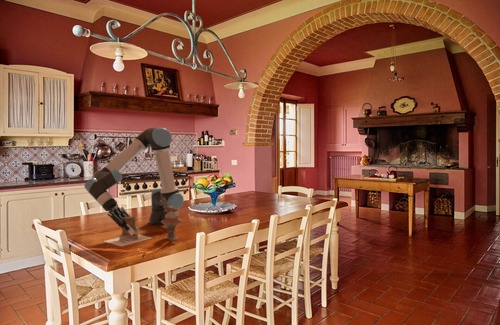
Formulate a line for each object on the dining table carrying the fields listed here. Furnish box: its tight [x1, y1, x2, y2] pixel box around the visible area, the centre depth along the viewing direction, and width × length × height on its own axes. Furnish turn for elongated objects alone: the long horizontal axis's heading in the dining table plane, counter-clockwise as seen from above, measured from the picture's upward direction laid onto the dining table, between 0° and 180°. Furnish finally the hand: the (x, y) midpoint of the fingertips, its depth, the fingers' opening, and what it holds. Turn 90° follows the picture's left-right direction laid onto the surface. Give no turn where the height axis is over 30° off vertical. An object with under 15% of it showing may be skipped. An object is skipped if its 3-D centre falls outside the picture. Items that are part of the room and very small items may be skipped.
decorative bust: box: [160, 198, 183, 242], centre depth 195 cm, size 11×13×25 cm
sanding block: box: [118, 216, 138, 241], centre depth 191 cm, size 4×9×12 cm, turn 81°
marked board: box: [103, 233, 152, 247], centre depth 190 cm, size 20×16×1 cm
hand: (135, 232), depth 190 cm, fingers closed on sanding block, 4 cm apart
